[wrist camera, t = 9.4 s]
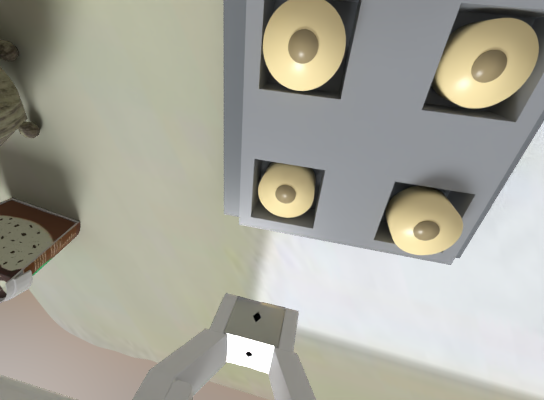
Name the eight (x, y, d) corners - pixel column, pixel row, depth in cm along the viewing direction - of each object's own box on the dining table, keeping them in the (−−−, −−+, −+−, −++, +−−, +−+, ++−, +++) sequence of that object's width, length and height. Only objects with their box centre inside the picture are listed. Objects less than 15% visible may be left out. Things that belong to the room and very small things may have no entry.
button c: (528, 25, 15) (560, 21, 13) (488, 105, 17) (510, 113, 15) (446, 17, 16) (465, 13, 14) (418, 96, 18) (430, 103, 16)
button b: (320, 160, 21) (318, 173, 19) (311, 206, 24) (308, 222, 22) (266, 152, 22) (259, 164, 20) (262, 198, 24) (256, 213, 22)
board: (699, -193, 12) (896, -320, 8) (450, 244, 26) (474, 283, 21) (235, -196, 15) (196, -293, 10) (230, 203, 28) (212, 232, 24)
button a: (460, 191, 19) (476, 210, 17) (434, 239, 21) (446, 261, 19) (396, 181, 19) (404, 198, 17) (378, 229, 22) (383, 249, 20)
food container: (12, 229, 37) (-81, 284, 29) (1, 193, 34) (-109, 243, 26) (94, 259, 37) (24, 322, 29) (90, 225, 34) (10, 285, 25)
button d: (351, 5, 15) (355, -1, 13) (335, 89, 17) (335, 95, 15) (274, -2, 15) (265, -9, 13) (268, 81, 18) (259, 86, 16)
